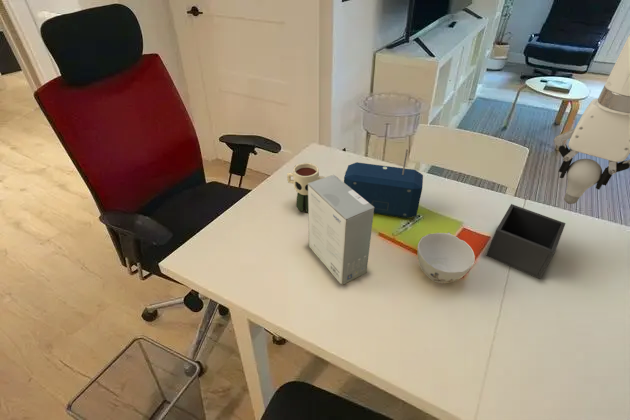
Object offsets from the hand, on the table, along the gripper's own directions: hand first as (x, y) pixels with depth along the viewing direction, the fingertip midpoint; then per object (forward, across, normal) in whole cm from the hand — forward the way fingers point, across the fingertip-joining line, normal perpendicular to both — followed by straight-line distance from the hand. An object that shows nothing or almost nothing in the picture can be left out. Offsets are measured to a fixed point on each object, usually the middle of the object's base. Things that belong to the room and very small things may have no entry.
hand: (580, 180), depth 80 cm
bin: (+23, +4, +2) cm, 23 cm away
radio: (+23, +42, +8) cm, 48 cm away
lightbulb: (+6, 0, 0) cm, 6 cm away
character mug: (+23, +59, +20) cm, 67 cm away
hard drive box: (+23, +40, +32) cm, 56 cm away
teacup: (+23, +18, +20) cm, 36 cm away
